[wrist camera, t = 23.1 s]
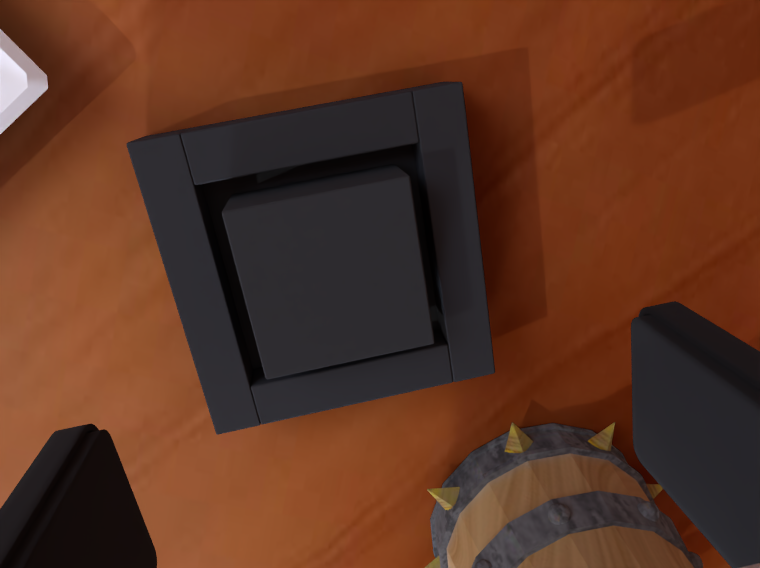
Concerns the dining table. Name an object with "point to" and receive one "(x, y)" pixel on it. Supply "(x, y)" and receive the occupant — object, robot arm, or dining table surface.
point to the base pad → (299, 163)
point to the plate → (17, 81)
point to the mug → (552, 507)
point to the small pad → (330, 269)
